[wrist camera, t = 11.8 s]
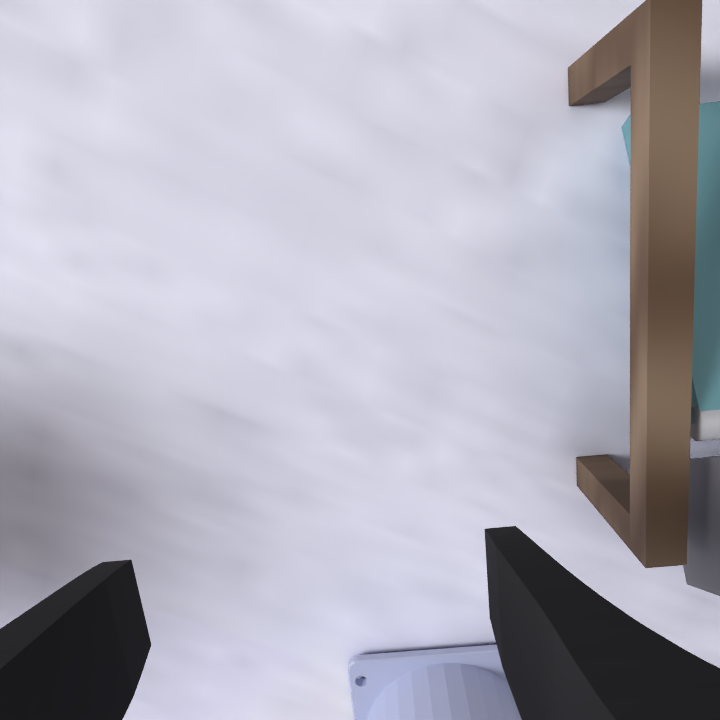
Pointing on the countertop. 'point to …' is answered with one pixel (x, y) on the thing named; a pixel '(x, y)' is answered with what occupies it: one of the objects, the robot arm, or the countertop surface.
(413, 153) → the countertop surface
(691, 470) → the trapdoor
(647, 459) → the frame
